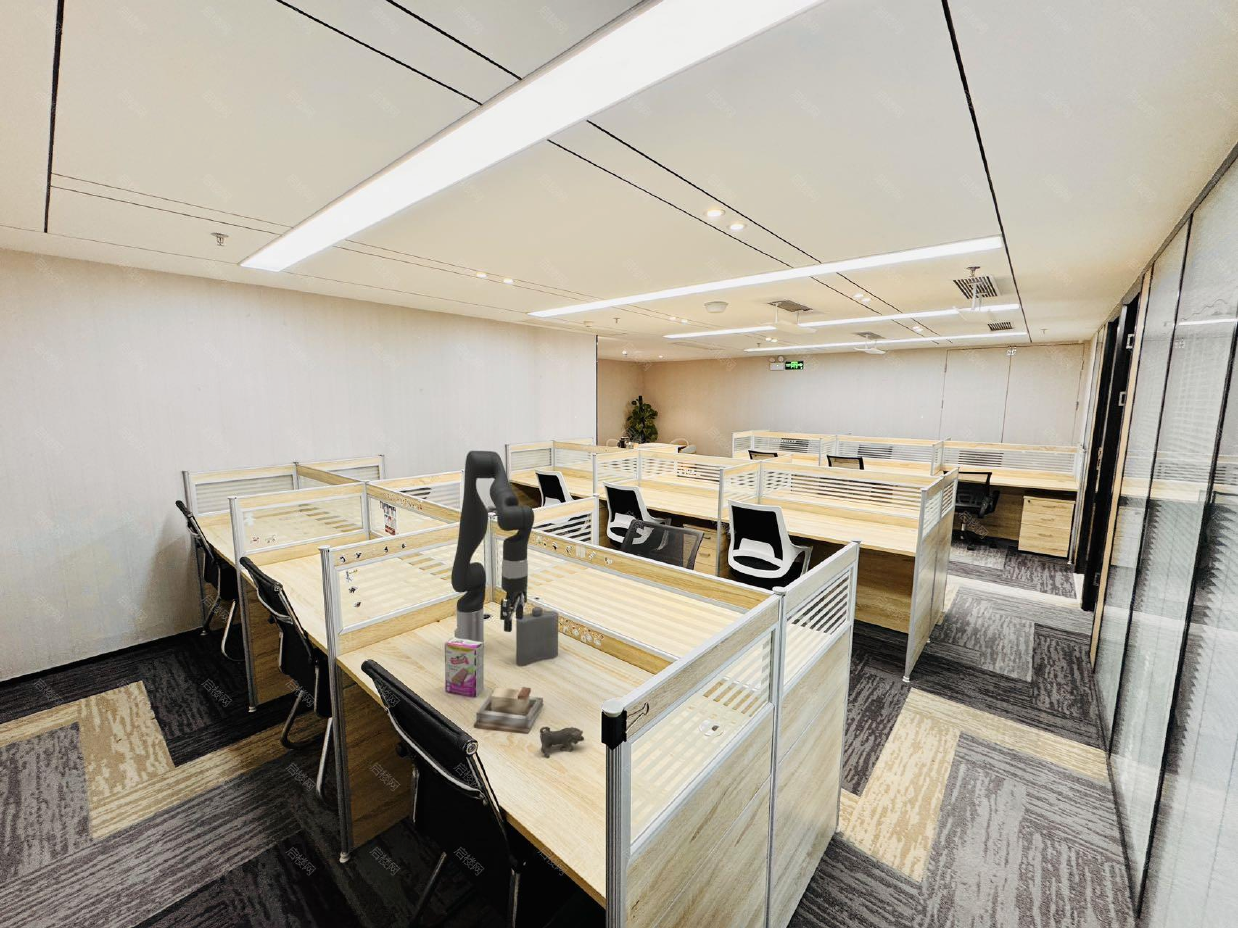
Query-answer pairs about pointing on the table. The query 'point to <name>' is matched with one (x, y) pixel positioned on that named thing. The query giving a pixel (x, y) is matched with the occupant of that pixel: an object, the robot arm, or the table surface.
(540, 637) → the flask
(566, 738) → the dog figurine
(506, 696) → the fuselage block
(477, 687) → the candy bar box
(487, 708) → the tray
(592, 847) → the table surface
